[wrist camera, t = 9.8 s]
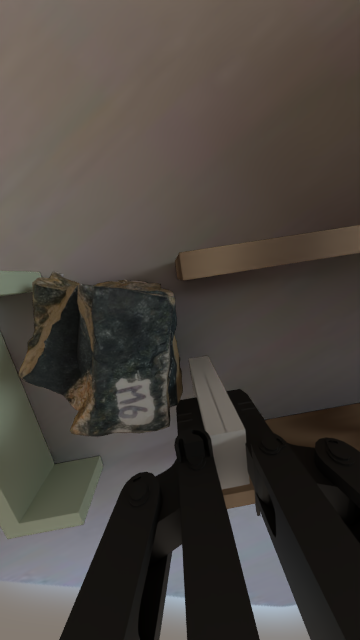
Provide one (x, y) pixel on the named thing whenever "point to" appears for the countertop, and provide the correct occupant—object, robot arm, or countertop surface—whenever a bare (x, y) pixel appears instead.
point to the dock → (34, 454)
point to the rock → (106, 352)
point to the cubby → (306, 428)
